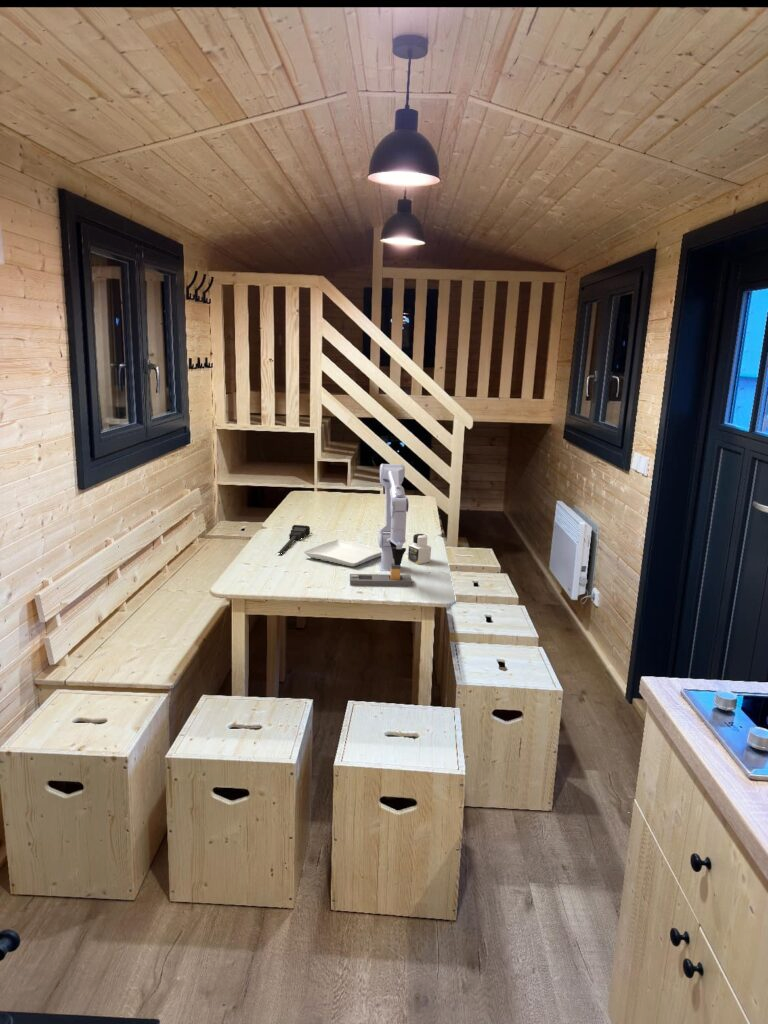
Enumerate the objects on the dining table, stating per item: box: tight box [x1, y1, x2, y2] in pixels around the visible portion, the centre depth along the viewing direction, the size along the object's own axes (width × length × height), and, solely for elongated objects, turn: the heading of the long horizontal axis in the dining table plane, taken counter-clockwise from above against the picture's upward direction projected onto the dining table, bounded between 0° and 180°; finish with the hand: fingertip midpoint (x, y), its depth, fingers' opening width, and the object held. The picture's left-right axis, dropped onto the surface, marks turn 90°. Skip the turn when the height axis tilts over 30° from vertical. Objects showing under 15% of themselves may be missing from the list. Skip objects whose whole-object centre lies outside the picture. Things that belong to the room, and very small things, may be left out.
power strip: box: [349, 573, 413, 587], centre depth 278 cm, size 8×24×3 cm, turn 94°
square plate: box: [302, 539, 382, 568], centre depth 311 cm, size 27×27×4 cm
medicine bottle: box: [407, 533, 432, 565], centre depth 308 cm, size 7×7×12 cm
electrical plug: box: [277, 524, 311, 554], centre depth 330 cm, size 9×42×5 cm, turn 172°
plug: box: [389, 563, 401, 580], centre depth 278 cm, size 4×4×8 cm
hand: (396, 561), depth 277 cm, fingers open, 7 cm apart
